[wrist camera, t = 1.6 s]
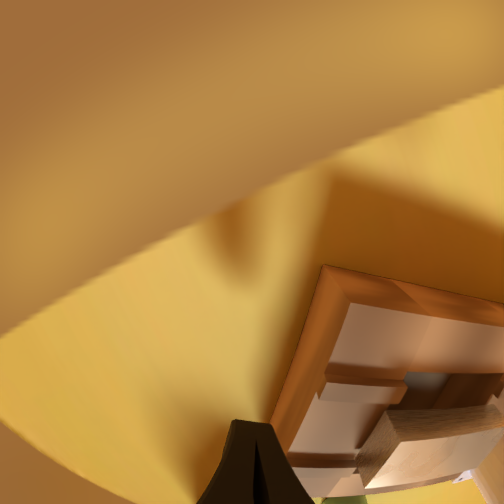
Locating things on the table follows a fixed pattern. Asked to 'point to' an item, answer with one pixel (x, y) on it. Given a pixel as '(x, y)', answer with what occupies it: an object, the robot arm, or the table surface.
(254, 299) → the table surface
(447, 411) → the tan rectangular block
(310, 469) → the dock
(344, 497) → the peg
